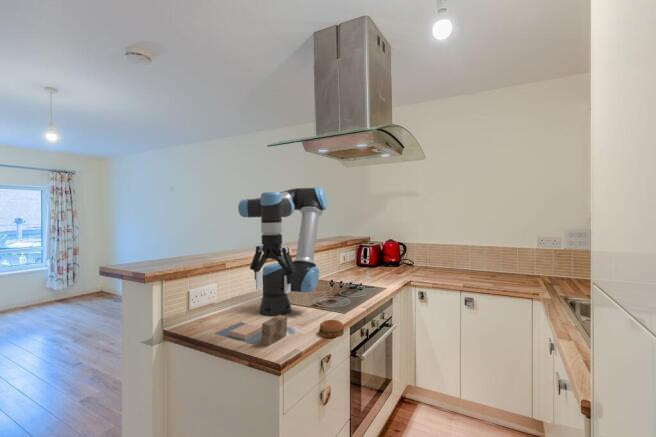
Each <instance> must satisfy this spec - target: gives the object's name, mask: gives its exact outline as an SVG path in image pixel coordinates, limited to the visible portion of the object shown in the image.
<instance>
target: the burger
mask: <svg viewBox="0 0 656 437" xmlns="http://www.w3.org/2000/svg"><path fill="white" fill-rule="evenodd" d="M344 327H345V326H344V325H343V323H342V322H341V321H339V320H338V319H327V320H325V321H322V322H321V323H320V326H319V329H318V332H319V335H320V336H321V337H323V338H328V339H330V338H339V337H343V335H344V334H345V332H344V331H345V330H344Z"/></svg>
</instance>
